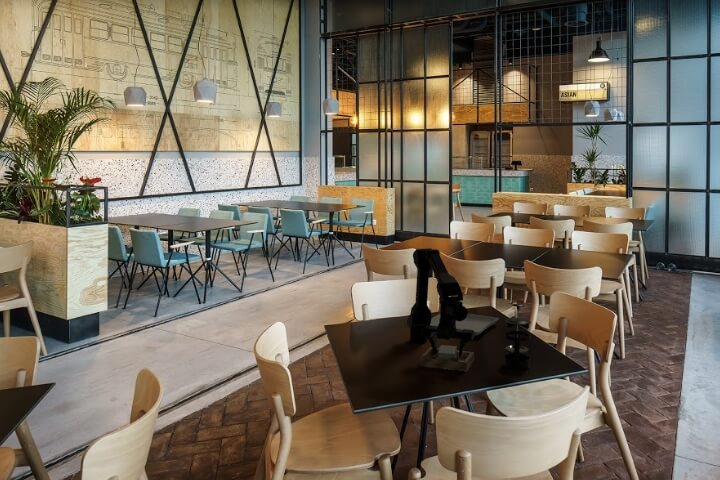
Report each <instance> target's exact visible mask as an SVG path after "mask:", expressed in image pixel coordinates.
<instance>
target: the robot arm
mask: <svg viewBox="0 0 720 480" xmlns="http://www.w3.org/2000/svg"><path fill="white" fill-rule="evenodd" d="M440 253H441V252H440V251H439V249H436V248H434V249H432V248H416V249H415V250H414V251H413V252H412V258H413V264H414V265H415V267H416V287H415V303H414V304H413V305H412V307H411V308H410V314H409V315H408V318H407V320H406V324H407V325H406V326H407V327H408V328H409V329H410V331H409V333H410V335H409V337H410V339H408V342H409V343H418V344H425V343H426V341H429V343H430V344H431V345H430V346H431V348H433V351H434V354H436V351H437V348H438V347H437V340H445V341H448V340H450V339H451V337H460V340H459V349H458V351H459V357H461V354H462V352H463V351H464V349H465V346H466V344H468V343H469V342H472V341H474V338H475V333H474V331H473V330H469V329H463V331H462V332H461V331H457V330H456V321H463V320H464V319H465V318H466V317H467V314H469V312H468V309H467V308H466V307H465V306H464V302H463V301H464V294H463V291H462V289H461V286H460V284H459V282H458V280H457V279H456V278H455V277H454V276H453V275H452V274H450V273H449V271H448V270H447V267H446V266H445V263H444V261H443V259H442V257H441V254H440ZM430 271H432V272H433V275H434V277H435V279H436V281H437V283H436V287H435V288H436V291H437V294H438V296H439V297H438V300H440V302H439V303H440V304H439V305H440V307H439V308H440V309H439V314H440V320H439V325H438V327H437V329H436V327H435V326H430V324H431V318H433V317H432V310H431V308H430V307H429V305H428V294H429V279H430Z"/></svg>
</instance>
